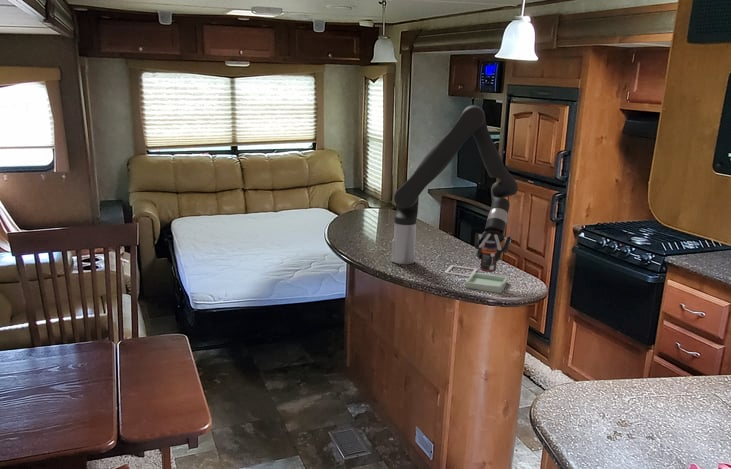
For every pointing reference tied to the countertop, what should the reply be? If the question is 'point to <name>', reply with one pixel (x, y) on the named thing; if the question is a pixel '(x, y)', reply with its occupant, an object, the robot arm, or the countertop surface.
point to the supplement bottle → (488, 257)
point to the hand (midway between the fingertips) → (488, 259)
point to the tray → (486, 282)
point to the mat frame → (457, 273)
